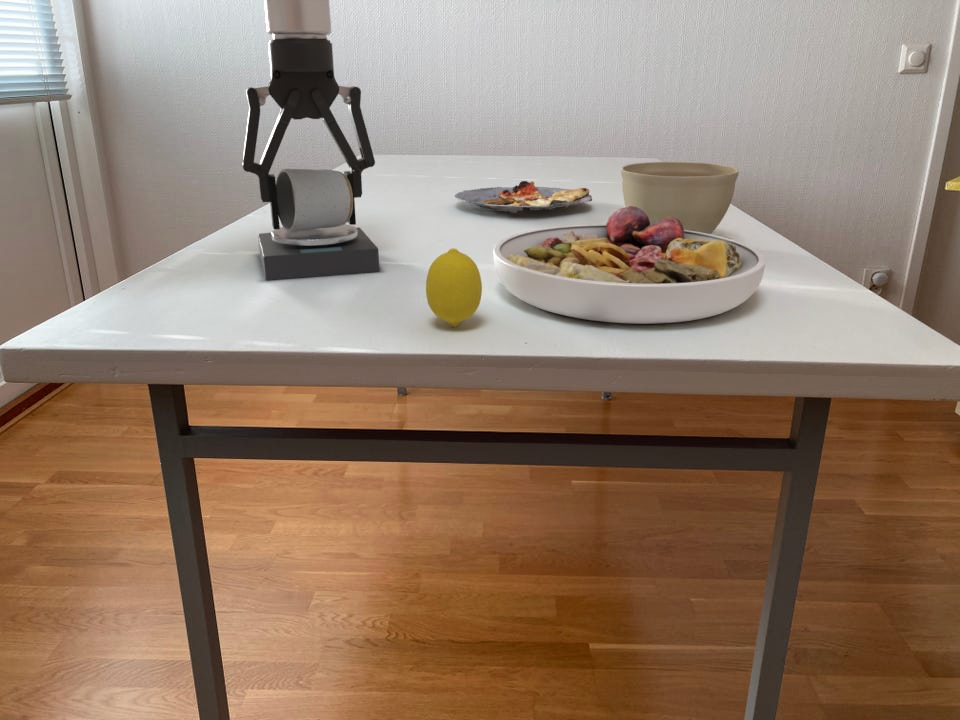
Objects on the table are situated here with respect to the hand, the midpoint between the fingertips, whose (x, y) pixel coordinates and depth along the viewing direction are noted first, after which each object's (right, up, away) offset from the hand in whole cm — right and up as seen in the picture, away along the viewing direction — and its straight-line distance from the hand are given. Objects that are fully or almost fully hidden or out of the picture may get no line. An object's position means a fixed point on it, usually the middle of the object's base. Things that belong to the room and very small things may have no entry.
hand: (314, 224), depth 101 cm
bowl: (+38, -10, -11) cm, 41 cm away
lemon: (+19, -14, -23) cm, 33 cm away
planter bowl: (+50, -1, +13) cm, 51 cm away
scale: (0, -5, +2) cm, 5 cm away
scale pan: (0, -1, +1) cm, 2 cm away
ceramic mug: (-1, 0, 0) cm, 1 cm away
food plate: (+30, +10, +41) cm, 52 cm away
